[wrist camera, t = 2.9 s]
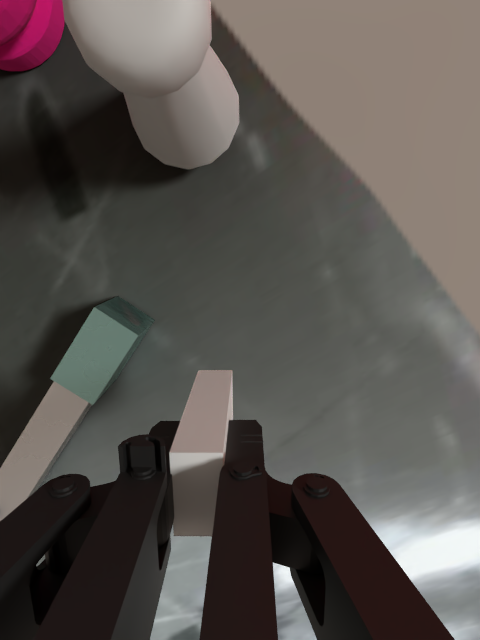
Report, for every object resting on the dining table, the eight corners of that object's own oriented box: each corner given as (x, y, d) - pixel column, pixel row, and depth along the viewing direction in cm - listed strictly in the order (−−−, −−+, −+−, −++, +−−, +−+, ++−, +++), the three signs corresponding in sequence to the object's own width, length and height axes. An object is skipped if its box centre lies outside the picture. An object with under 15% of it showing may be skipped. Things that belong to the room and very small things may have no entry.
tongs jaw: (-3, 560, 30) (-41, 610, 26) (-45, 537, 29) (-90, 584, 25) (154, 320, 25) (138, 335, 22) (108, 289, 25) (83, 299, 21)
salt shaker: (157, 185, 24) (58, 128, 11) (130, 85, 23) (-15, -105, 10) (250, 160, 24) (256, 72, 11) (227, 57, 22) (203, -175, 10)
